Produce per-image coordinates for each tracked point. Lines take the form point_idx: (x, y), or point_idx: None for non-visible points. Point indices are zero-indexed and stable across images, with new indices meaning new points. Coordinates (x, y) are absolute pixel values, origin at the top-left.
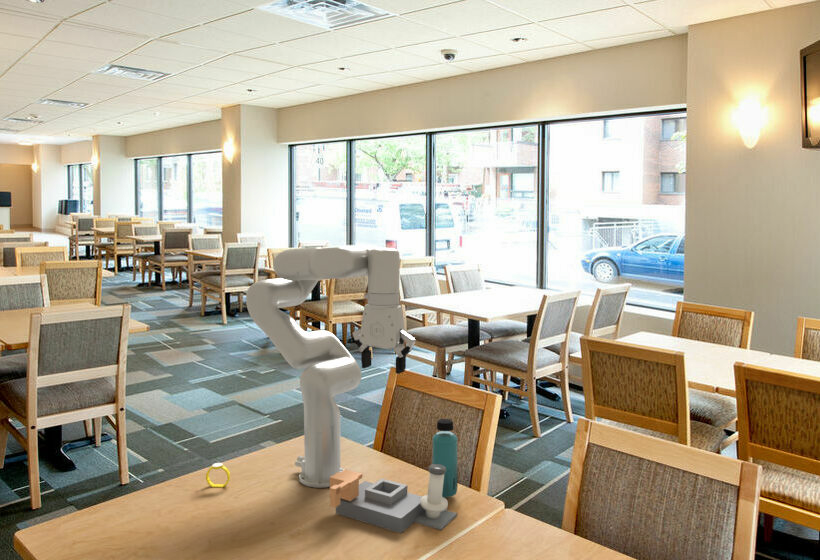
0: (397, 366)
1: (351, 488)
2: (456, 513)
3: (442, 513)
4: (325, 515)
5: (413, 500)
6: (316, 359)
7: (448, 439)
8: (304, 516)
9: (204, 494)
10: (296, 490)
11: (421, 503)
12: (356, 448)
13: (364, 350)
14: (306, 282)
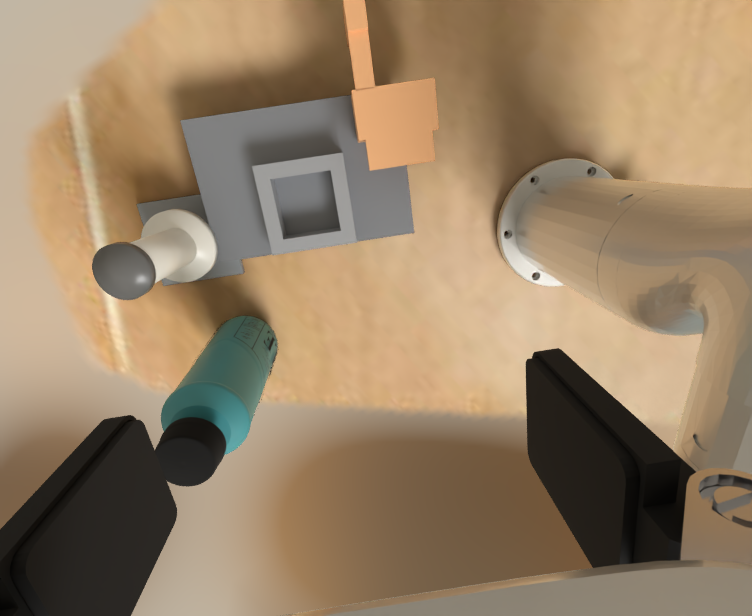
0: (65, 465)
1: (352, 100)
2: (163, 284)
3: None
4: (408, 65)
5: (233, 226)
6: None
7: (169, 409)
8: (448, 20)
9: None
10: (569, 123)
11: (191, 214)
12: None
13: (676, 521)
14: None
